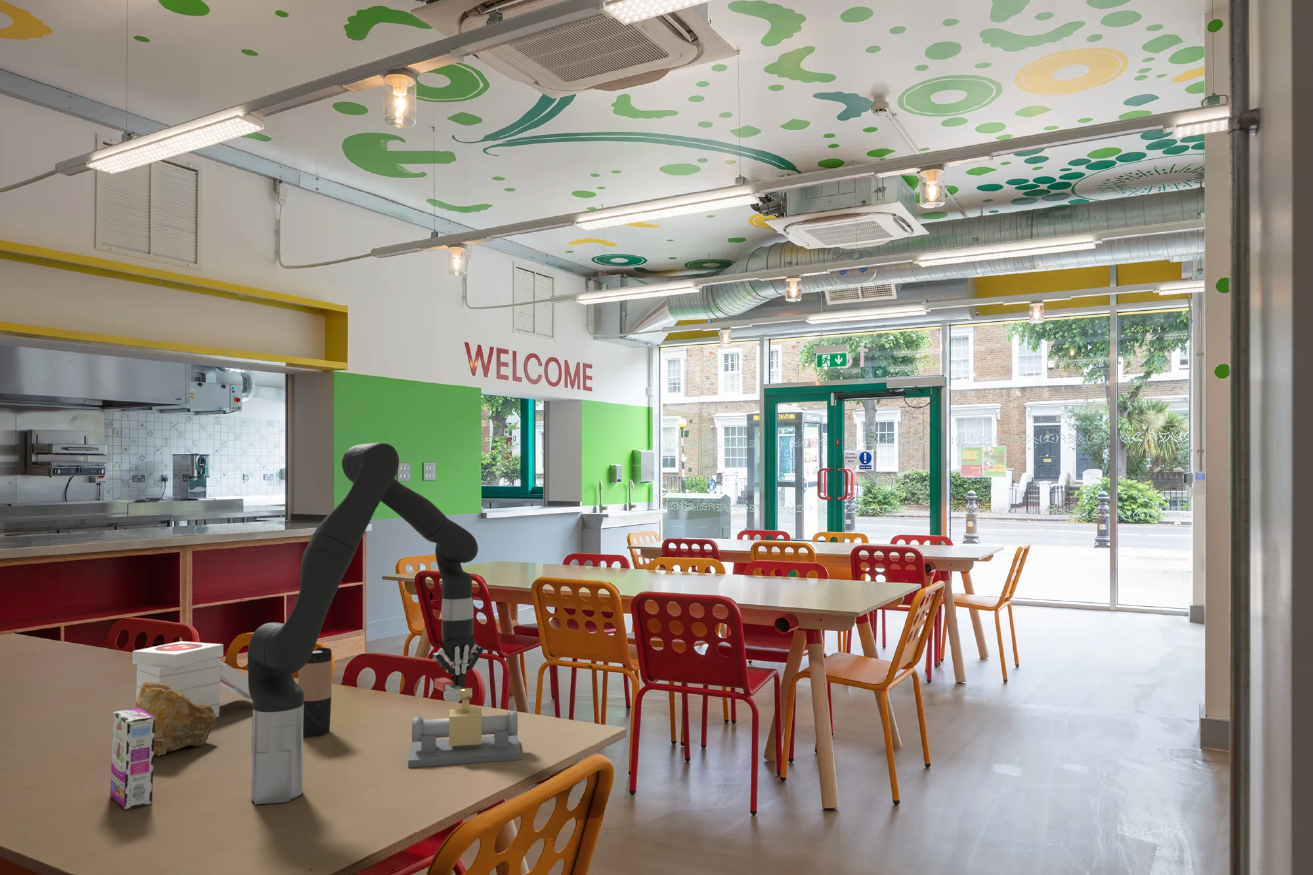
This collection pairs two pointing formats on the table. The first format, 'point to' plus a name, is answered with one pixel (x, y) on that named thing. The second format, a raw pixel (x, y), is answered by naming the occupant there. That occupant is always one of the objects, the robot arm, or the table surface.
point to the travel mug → (316, 692)
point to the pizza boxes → (190, 671)
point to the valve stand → (464, 738)
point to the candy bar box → (132, 758)
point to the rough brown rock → (175, 717)
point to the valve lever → (452, 688)
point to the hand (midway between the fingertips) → (458, 689)
